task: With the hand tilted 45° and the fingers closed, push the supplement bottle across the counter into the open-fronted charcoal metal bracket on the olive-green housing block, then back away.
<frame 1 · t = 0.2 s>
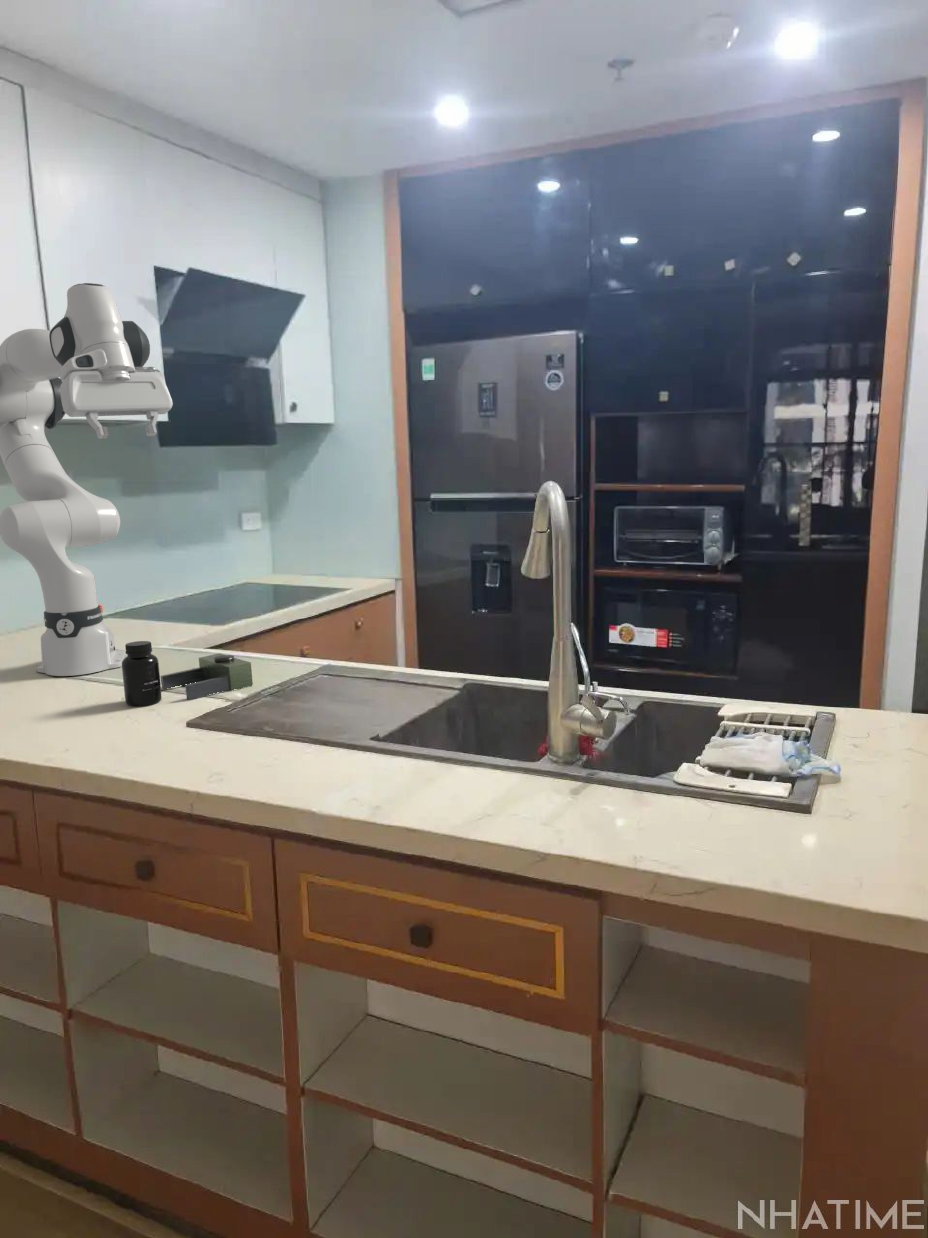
hand: (128, 436, 167), 52 cm above the table, tool tilted 20°, fingers open, 8 cm apart
supplement bottle: (144, 703, 174), on the table
chute bracket: (195, 690, 182), on the table
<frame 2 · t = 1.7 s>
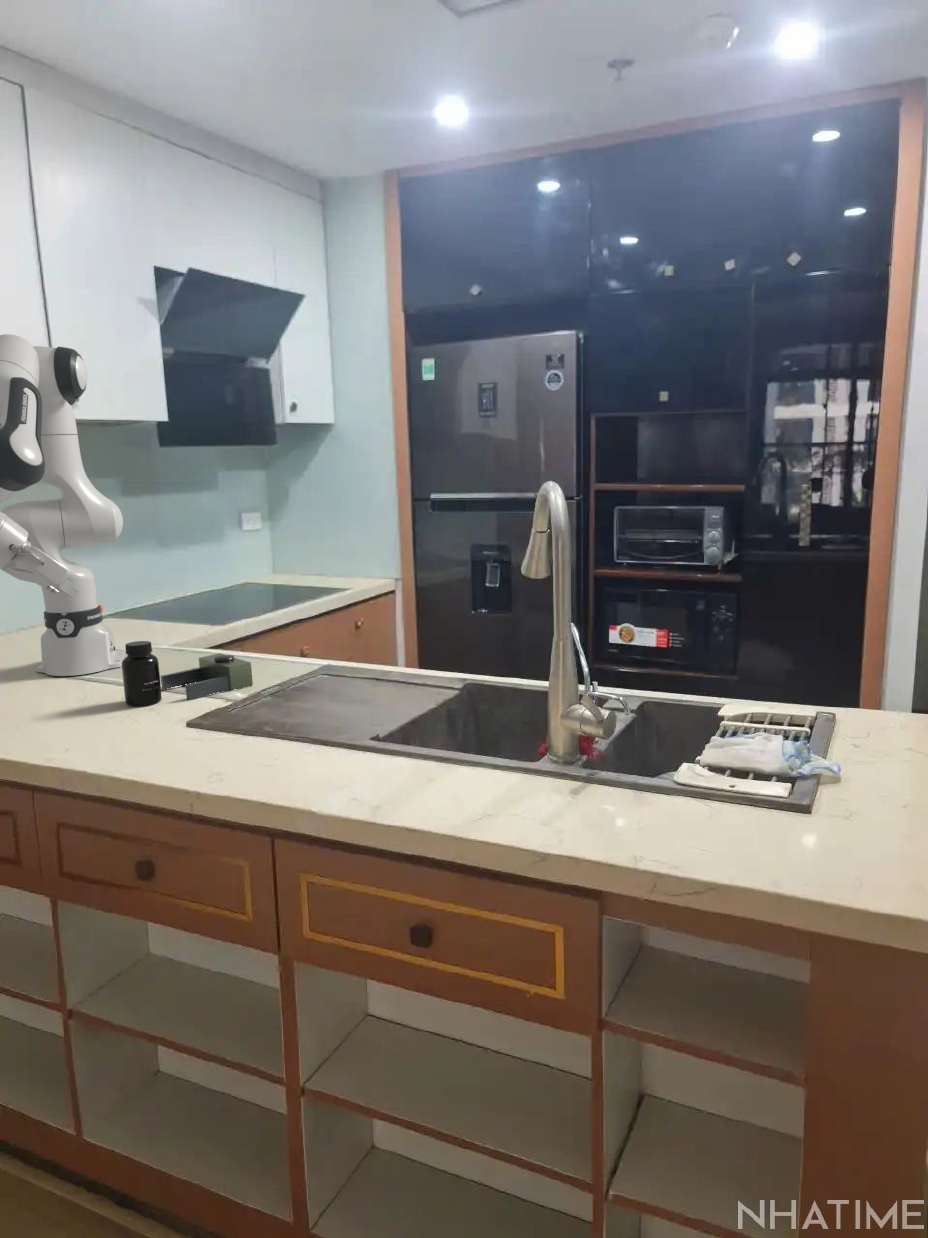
hand: (66, 592, 161), 24 cm above the table, tool tilted 45°, fingers open, 8 cm apart
nothing on the table moved.
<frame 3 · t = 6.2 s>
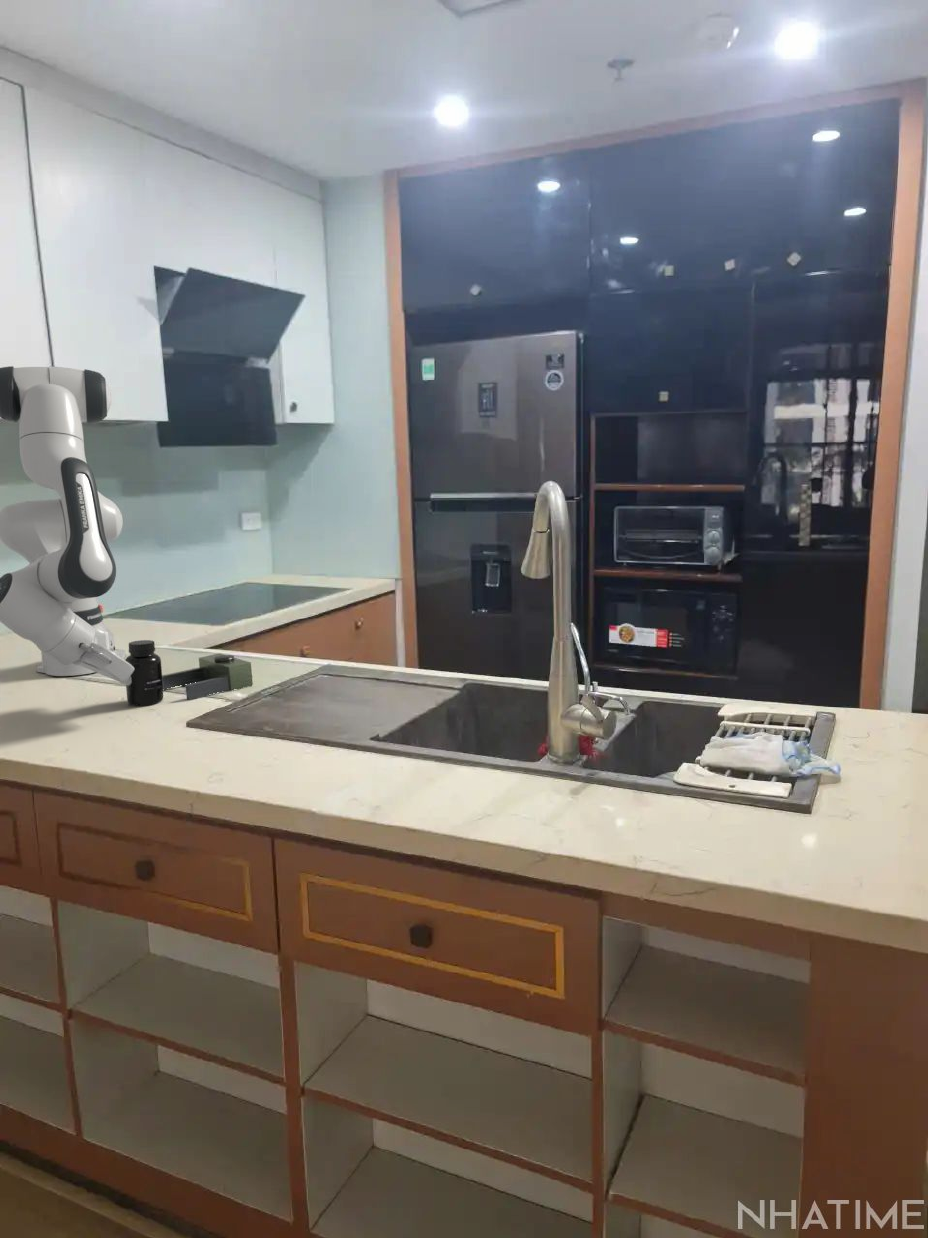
hand: (128, 681, 171), 5 cm above the table, tool tilted 45°, fingers closed
supplement bottle: (146, 702, 174), on the table, touching gripper
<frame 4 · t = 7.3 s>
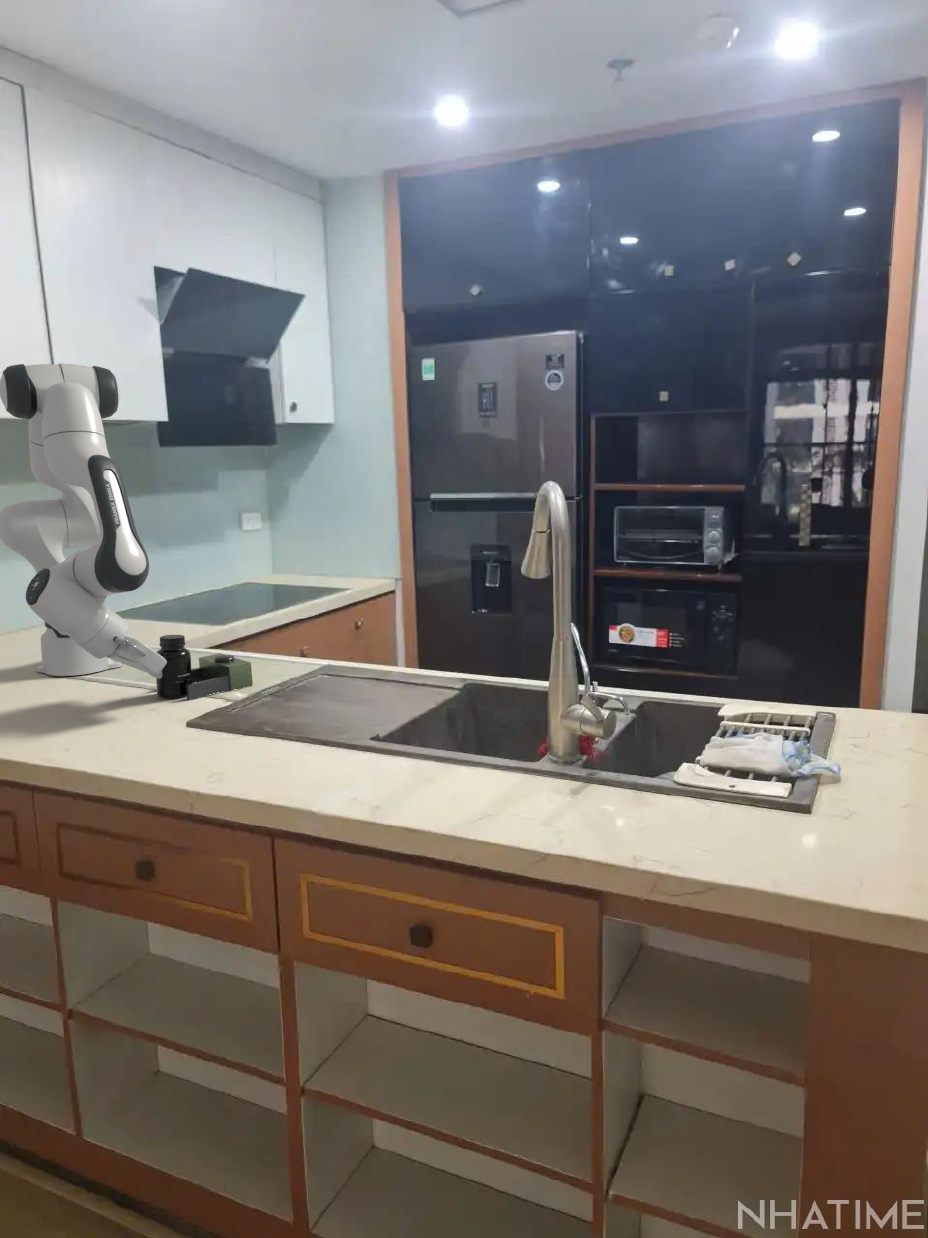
hand: (159, 674, 175), 5 cm above the table, tool tilted 45°, fingers closed
supplement bottle: (175, 695, 178), on the table, touching gripper
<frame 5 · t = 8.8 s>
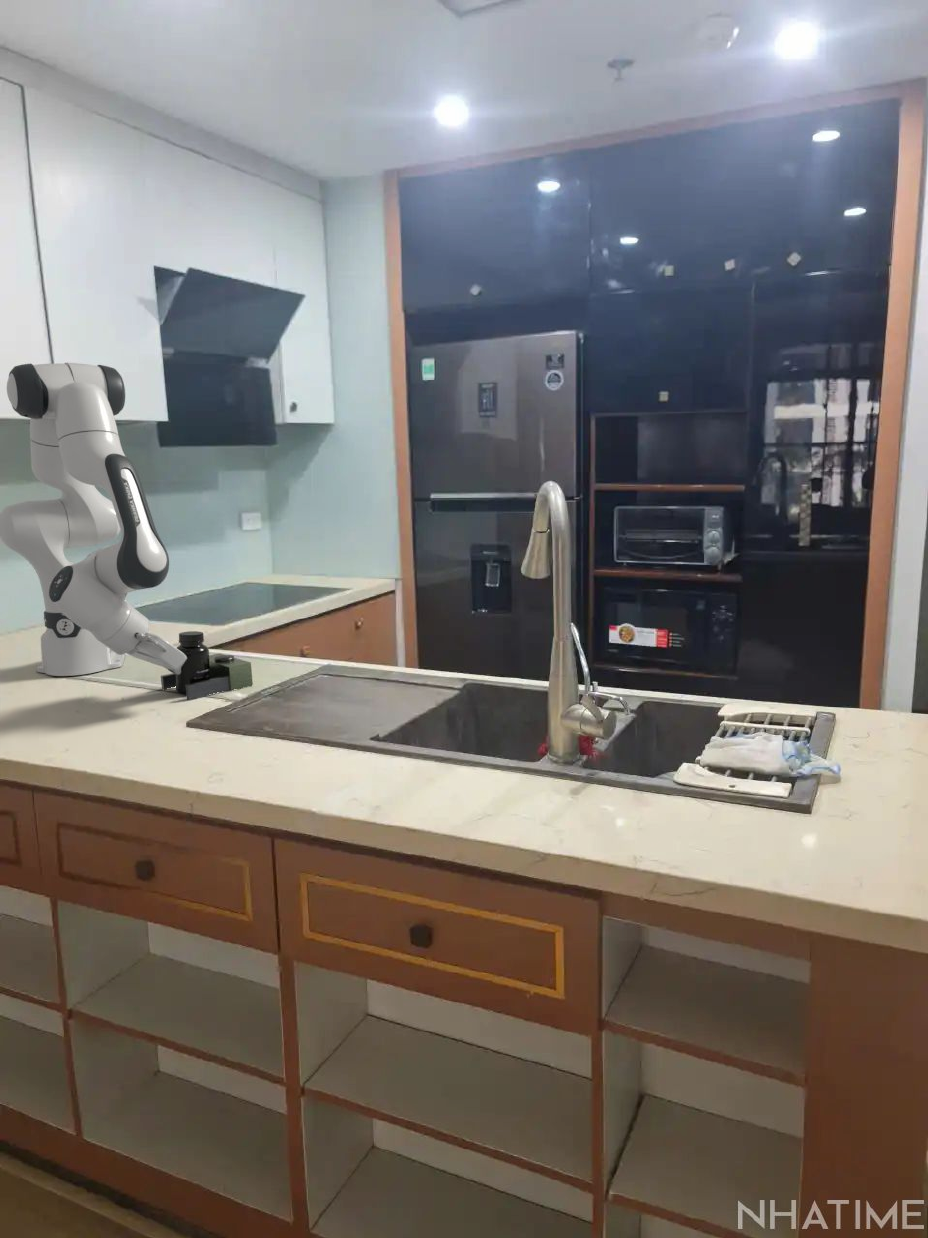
hand: (178, 670, 178), 5 cm above the table, tool tilted 45°, fingers closed
supplement bottle: (193, 691, 181), on the table, touching gripper
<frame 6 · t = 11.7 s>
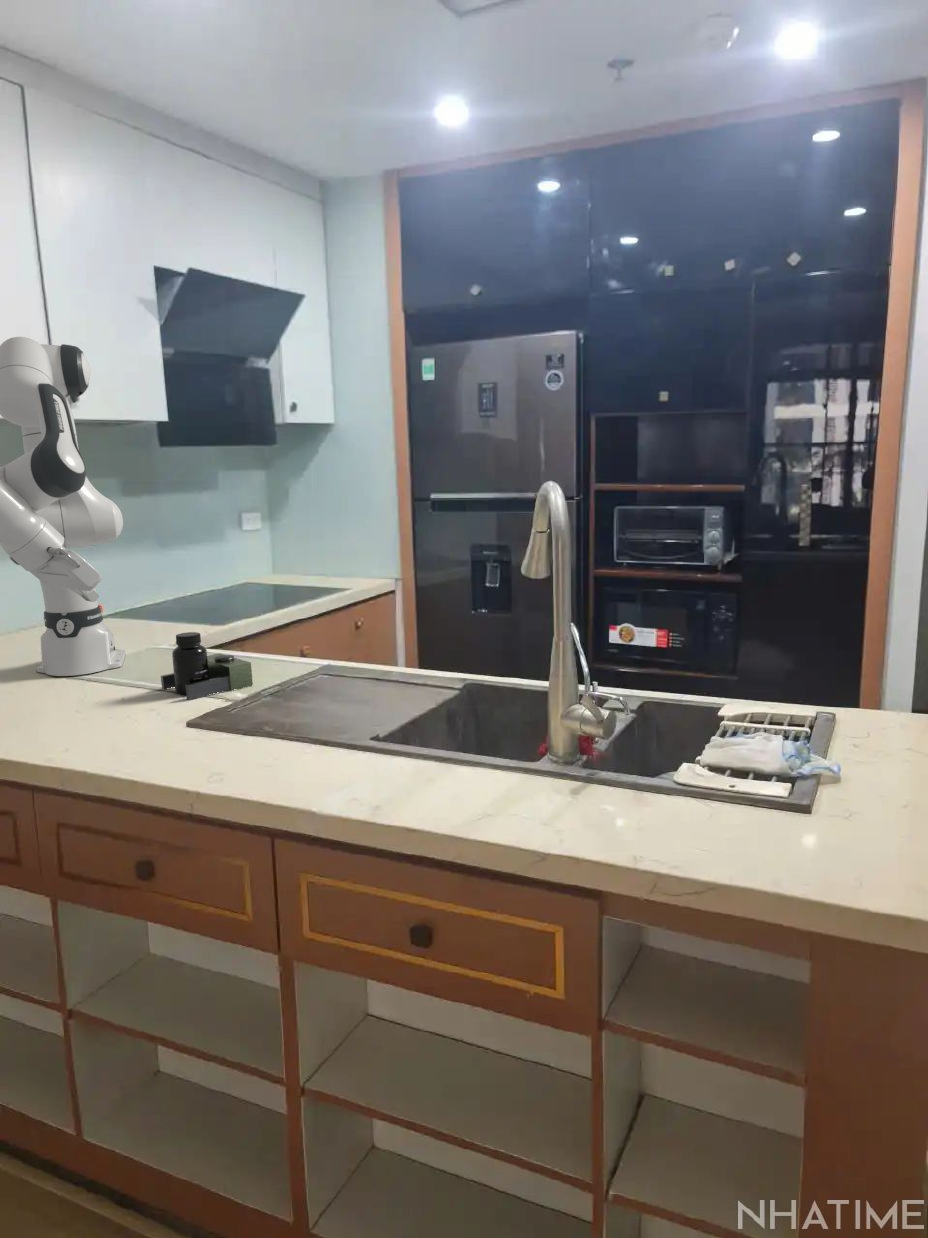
hand: (93, 599, 167), 21 cm above the table, tool tilted 40°, fingers closed
supplement bottle: (193, 692, 181), on the table
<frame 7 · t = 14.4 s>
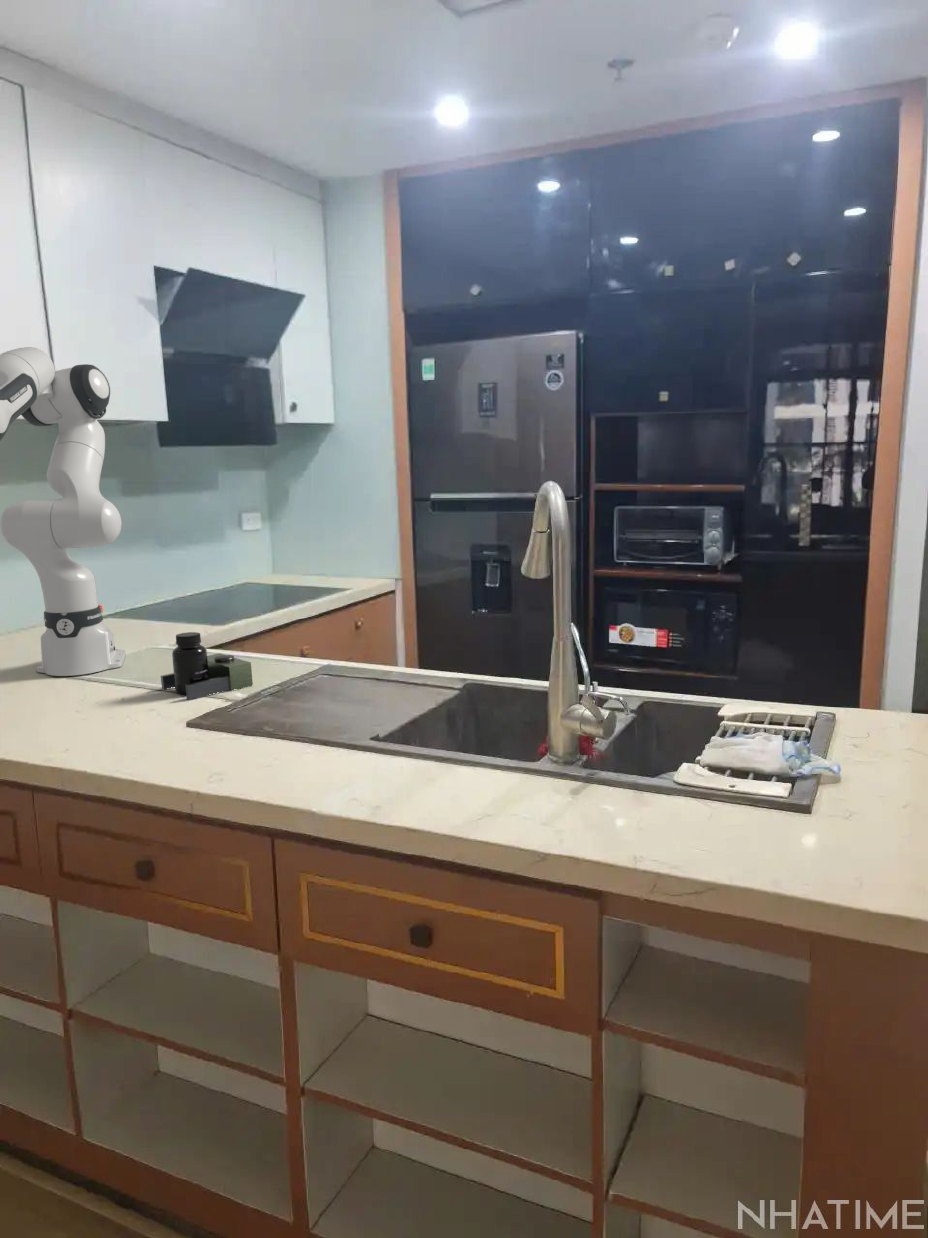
nothing on the table moved.
at the end: supplement bottle 0.7 cm off-centre on the chute bracket, point 0.0 cm above the chute bracket's base; supplement bottle tilted 0°; supplement bottle moved 10.3 cm from its start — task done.
